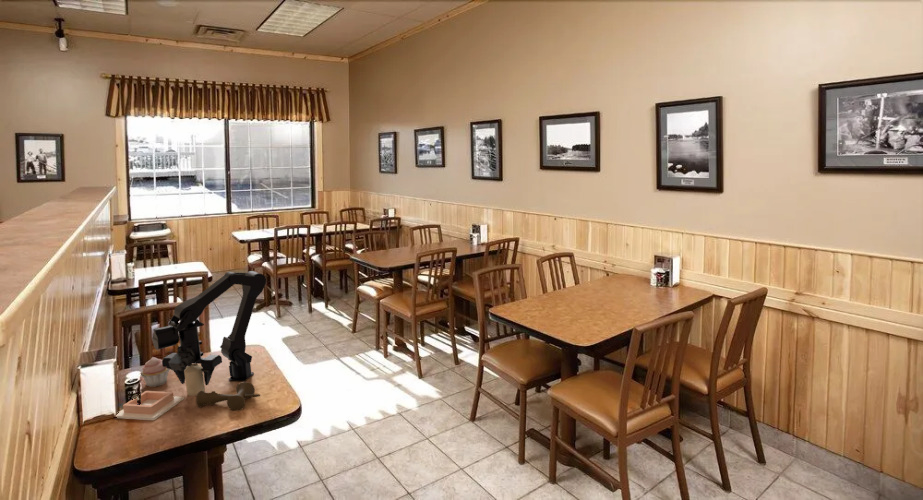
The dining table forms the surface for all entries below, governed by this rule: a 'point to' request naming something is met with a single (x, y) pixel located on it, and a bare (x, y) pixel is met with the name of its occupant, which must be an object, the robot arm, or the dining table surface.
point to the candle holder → (149, 405)
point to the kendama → (228, 397)
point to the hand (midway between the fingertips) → (195, 384)
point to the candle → (194, 379)
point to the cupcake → (154, 372)
